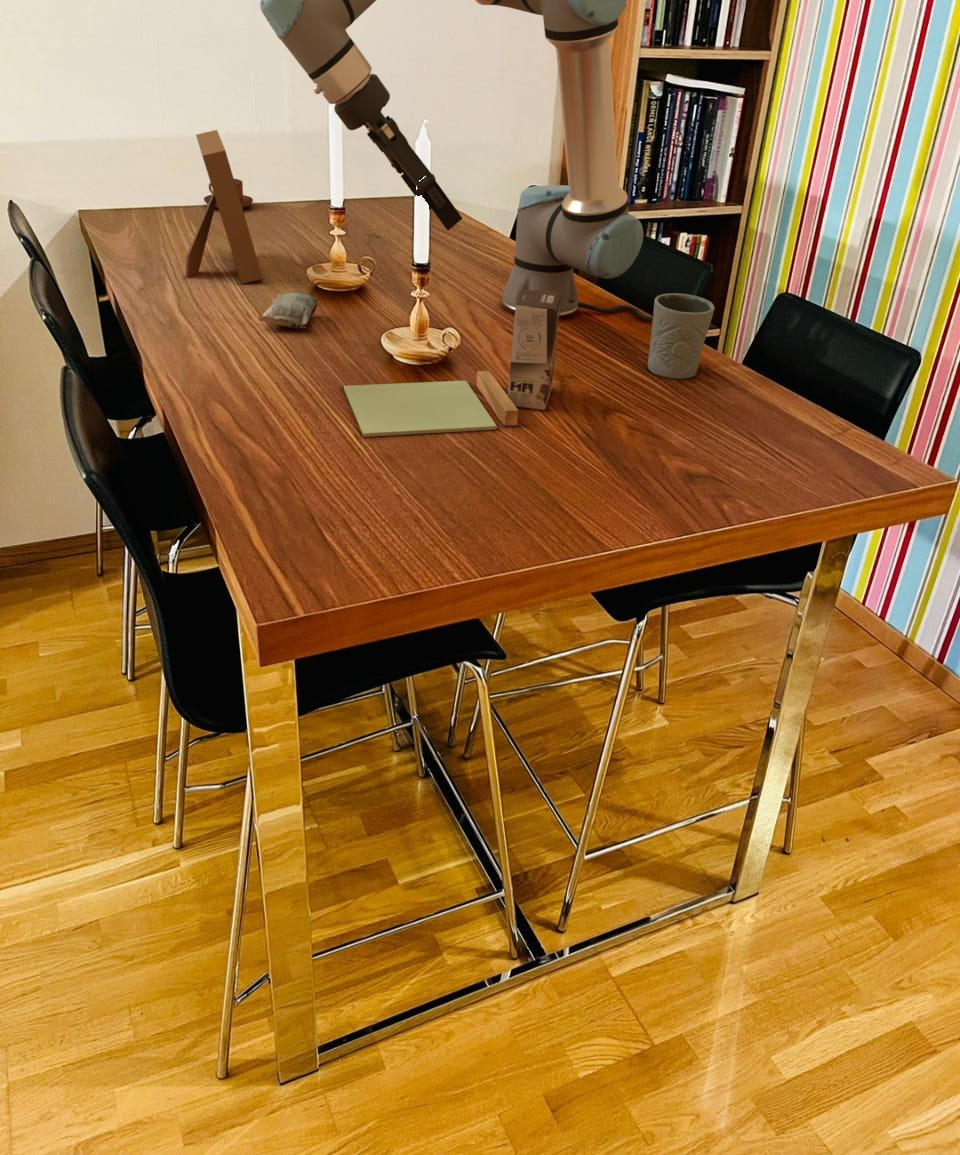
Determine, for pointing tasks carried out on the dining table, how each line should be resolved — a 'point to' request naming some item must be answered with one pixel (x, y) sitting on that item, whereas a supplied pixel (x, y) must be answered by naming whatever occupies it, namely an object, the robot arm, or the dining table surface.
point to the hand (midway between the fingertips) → (443, 214)
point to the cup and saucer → (243, 199)
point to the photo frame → (223, 213)
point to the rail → (497, 398)
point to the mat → (417, 408)
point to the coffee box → (533, 348)
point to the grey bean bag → (290, 310)
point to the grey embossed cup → (678, 334)
